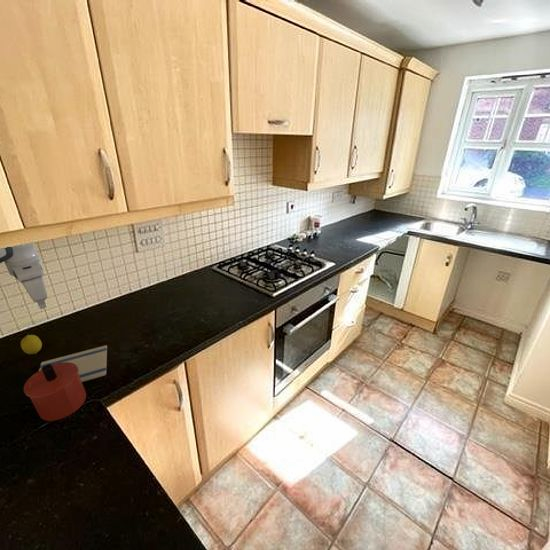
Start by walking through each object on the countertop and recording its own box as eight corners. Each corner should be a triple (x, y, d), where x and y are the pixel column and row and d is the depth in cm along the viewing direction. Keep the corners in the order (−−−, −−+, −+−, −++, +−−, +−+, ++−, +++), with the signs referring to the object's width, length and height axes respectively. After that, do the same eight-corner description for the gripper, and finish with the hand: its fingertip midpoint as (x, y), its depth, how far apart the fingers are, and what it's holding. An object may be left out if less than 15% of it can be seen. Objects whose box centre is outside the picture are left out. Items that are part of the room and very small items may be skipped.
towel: (31, 397, 90) (30, 396, 90) (42, 363, 103) (41, 362, 103) (106, 375, 98) (105, 373, 97) (107, 346, 110) (106, 345, 110)
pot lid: (19, 406, 76) (11, 392, 74) (30, 373, 86) (23, 360, 84) (76, 389, 81) (70, 375, 79) (81, 359, 91) (75, 346, 89)
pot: (35, 427, 81) (21, 402, 77) (43, 396, 90) (31, 372, 86) (84, 411, 85) (74, 386, 81) (87, 383, 95) (78, 359, 90)
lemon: (26, 361, 104) (17, 342, 100) (25, 352, 108) (16, 335, 104) (45, 354, 107) (37, 336, 103) (44, 346, 111) (36, 328, 107)
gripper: (8, 259, 101) (23, 295, 107) (17, 278, 88) (34, 318, 94) (31, 254, 105) (44, 289, 111) (43, 272, 92) (58, 310, 98)
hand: (40, 302), depth 103 cm, fingers open, 8 cm apart
